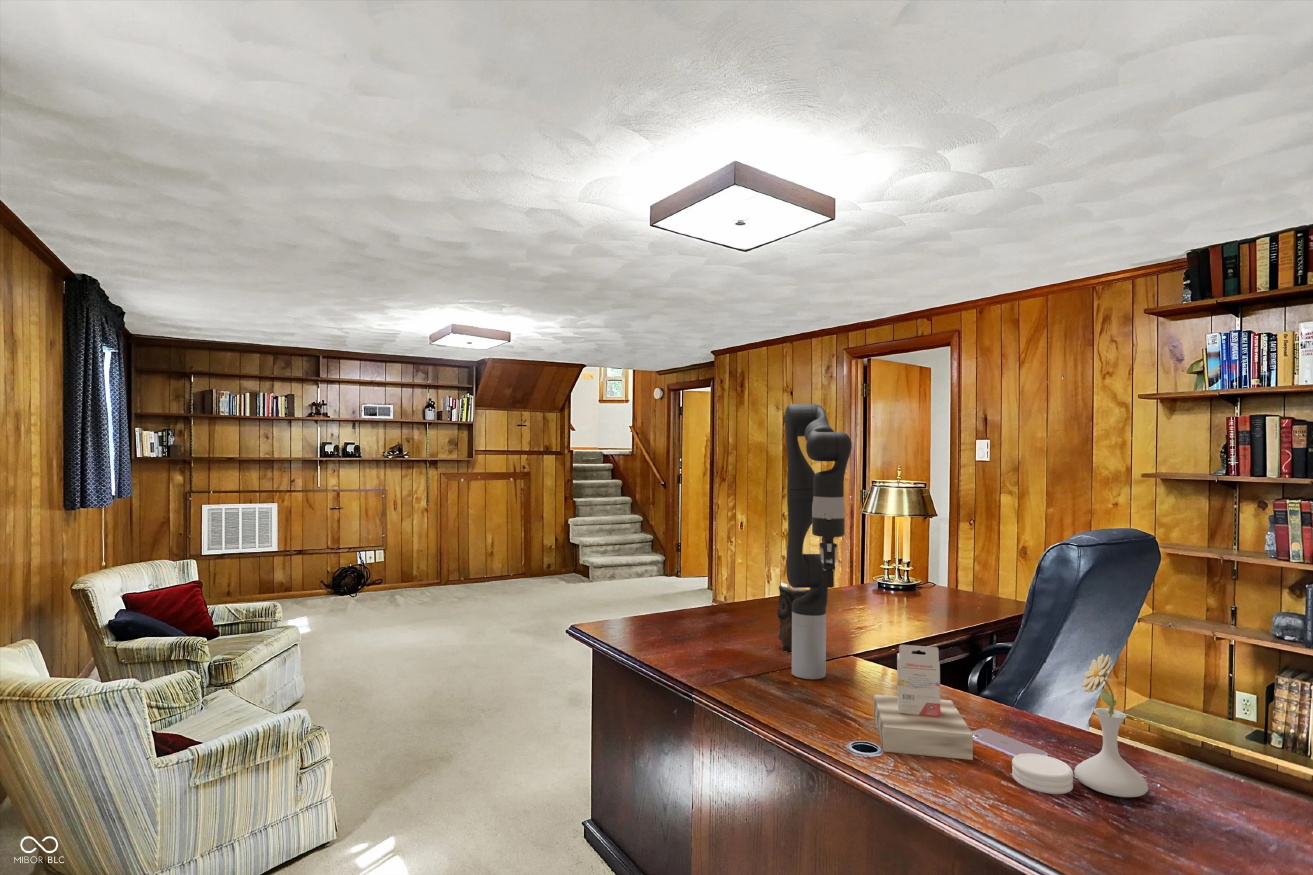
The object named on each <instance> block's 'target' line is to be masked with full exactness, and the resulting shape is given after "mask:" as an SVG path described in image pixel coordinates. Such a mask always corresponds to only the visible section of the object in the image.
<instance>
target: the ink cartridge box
mask: <svg viewBox="0 0 1313 875" xmlns="http://www.w3.org/2000/svg"><path fill="white" fill-rule="evenodd" d="M898 651H899V652H898V653H897V655H896V660H897V661H896V662H897V663H896V667H897V669H896V670H897V671H896V676H897V677H896V680H897V681H896V682H897V687H896V688H897V690H896V691H897V693H896V694H897V695H896V696H897V698H898V699H897V701H898V710H899V713H904V714H914V715H924V716H934V717H940V700H941V666H940V665H941V664H940V661H939V660H940V658H939V654H940V653H939V652H940V651H939V648H938V647H937V646H934V647H933V646H925V645H924V646H923V645H922V646H921V645H910V644H900V645H899V646H898ZM917 651H920V652H922V653H925V654H917V653H913V652H917Z"/></svg>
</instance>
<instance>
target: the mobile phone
mask: <svg viewBox="0 0 1313 875" xmlns="http://www.w3.org/2000/svg"><path fill="white" fill-rule="evenodd" d="M970 731H971V730H970ZM971 733H972V734H973V741H974V742H977V741H978V742H977V743H979V742H980V744H982V745H985V746H988V747H990V748H992V749H994V750H997V751H998V752H1002V753H1003V752H1004V754H1006V755H1008V756H1010V757H1012V758H1014V757H1015V756H1016V755H1019V754H1026V753H1031V754H1040V755H1045V756H1048V755H1049V753H1048V752H1046V750H1043V749H1040V748H1038V747H1034V746H1033V745H1031V744H1027V743H1025V742H1022V741H1020V740H1018V739H1015V738H1012V737H1010V736H1007V735H1006V734H1002V733H999V732H997V731H994V730H992V729H990V728H986V727H984V728H979V729H975V730H972V731H971Z"/></svg>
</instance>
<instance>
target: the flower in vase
mask: <svg viewBox="0 0 1313 875" xmlns="http://www.w3.org/2000/svg"><path fill="white" fill-rule="evenodd" d="M1112 663H1113V662H1112V658H1111V657H1110V655H1109V654H1107V655H1106V656H1104V653H1101V654H1100V655H1098V656H1097V659H1092V660H1091V664H1090V665H1089V668H1088V669H1089V670H1087V671H1085V672H1084V674H1083V676H1084V677H1085V679H1084V680H1082V684H1081V688H1084V689H1083V692H1084V693H1093V692H1095V691H1097V690H1099V688H1100V687H1102V685H1103V684H1104V683H1105V684H1106V687H1107V688H1108V690H1109V691H1108V690H1107V689H1106V688H1103V689H1102V691H1101V692H1100V699H1101V700H1102V701H1103V702H1104V703H1105V704H1106V705H1107V706H1108V707H1109V708H1106V707H1097V708H1095V709H1093V712H1094V714H1096V716H1097V718H1098V719H1099V723H1100V727H1101V731H1102V747H1101V748H1102V749H1101V750H1100V751H1099V753H1097V754H1096V755H1094V756H1091V757H1088V758H1087V759H1085V760H1083V761H1081V762H1080V763H1079V764H1076V766H1075V768H1074V771H1073V775H1075V777H1076V779H1077V780H1078V781H1079V782H1080V783H1081V784H1083V785H1084V786H1086V787H1088V788H1090V789H1091V790H1094V791H1096V792H1098V793H1103V794H1105V795H1109V796H1113V797H1119V798H1137V797H1141V796H1143V795H1146V793H1147V792H1148V791H1149V786H1148V783H1147V781H1146V779H1144V777H1143V776H1142V774H1140V773H1139V772H1138V771H1137V770H1136V769H1134V767H1133V766H1131V765H1130V764H1129V763H1127V762H1126V761H1125V760H1124V758H1122V757H1121V755H1120V753H1119V750H1118V749H1119V748H1118V738H1119V737H1118V736H1119V731H1120V730H1119V729H1120V726H1121V724H1122V722H1123V721H1125V719H1126V718H1127V714H1126V713H1124V712H1122V711H1120V710H1117V709H1115V706H1116V705H1117V700H1115V696H1114V692H1113V690H1112V688H1111V686H1110V684H1109V682H1108V678H1109V675H1110V673H1111V671H1112V668H1113V665H1112Z"/></svg>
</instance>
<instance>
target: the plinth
mask: <svg viewBox="0 0 1313 875" xmlns="http://www.w3.org/2000/svg"><path fill="white" fill-rule="evenodd" d="M897 699H898V698H897V695H886V694H873V719H874V722H875V726H876V728H877V732H878V736H879V739H880V742H881V747H882V749H883V752H885V753H894V754H895V753H897V754H907V755H916V756H917V755H919V756H926V757H927V756H928V757H939V758H949V759H960V760H961V759H962V760H971V761H973V759H974V757H973V755H974V748H973V747H974V743H973V742H974V740H973V734H972V733H971V729H970V728H969V726H968V725H967V722H966V721H965V720H964V718H963V717H962V715H961V713H960V712H959V710H958V709H957V708H956V706H955V704H954V702H953V700H951V699H950V700H949V699H940V717H934V716H924V715H914V714H904V713H899V710H898V701H897Z"/></svg>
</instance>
